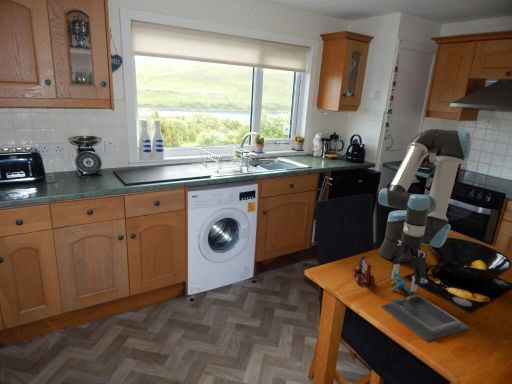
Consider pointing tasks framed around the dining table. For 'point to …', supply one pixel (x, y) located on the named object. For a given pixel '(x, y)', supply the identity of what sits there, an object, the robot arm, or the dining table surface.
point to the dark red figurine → (363, 272)
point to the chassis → (424, 317)
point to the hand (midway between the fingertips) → (403, 284)
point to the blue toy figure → (400, 283)
